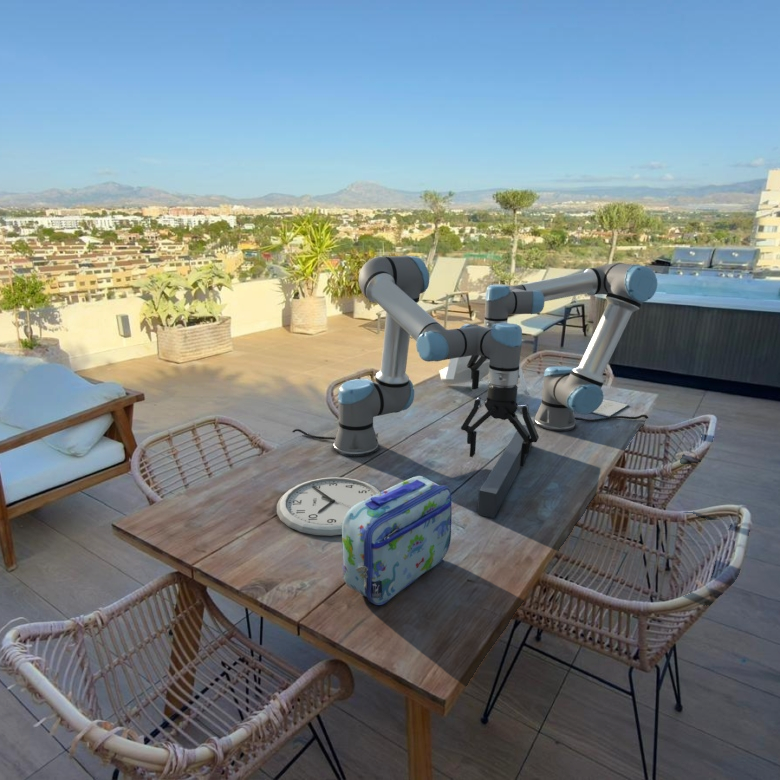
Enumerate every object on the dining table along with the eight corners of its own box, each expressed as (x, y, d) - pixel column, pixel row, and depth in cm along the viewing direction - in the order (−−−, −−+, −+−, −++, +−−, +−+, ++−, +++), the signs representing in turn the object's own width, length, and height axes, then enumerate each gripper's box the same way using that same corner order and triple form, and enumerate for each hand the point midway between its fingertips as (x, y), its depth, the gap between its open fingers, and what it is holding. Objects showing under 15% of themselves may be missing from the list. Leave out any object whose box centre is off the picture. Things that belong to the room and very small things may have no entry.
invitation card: (608, 416, 214) (573, 407, 224) (608, 416, 214) (573, 408, 224) (628, 404, 229) (594, 396, 238) (628, 405, 229) (594, 397, 238)
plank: (518, 443, 186) (520, 424, 184) (531, 445, 185) (533, 426, 182) (477, 514, 140) (479, 490, 137) (494, 518, 138) (496, 494, 136)
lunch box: (371, 618, 102) (371, 524, 95) (336, 591, 109) (334, 502, 103) (455, 562, 119) (460, 479, 113) (420, 542, 126) (423, 463, 120)
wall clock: (392, 527, 129) (268, 531, 127) (391, 533, 130) (269, 537, 127) (383, 473, 158) (282, 475, 155) (383, 478, 158) (282, 480, 156)
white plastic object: (461, 429, 252) (437, 405, 227) (444, 352, 274) (420, 323, 250) (535, 404, 240) (518, 377, 215) (510, 326, 262) (492, 293, 237)
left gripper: (452, 381, 136) (448, 456, 142) (550, 394, 126) (541, 474, 133) (460, 374, 143) (456, 446, 149) (554, 386, 133) (546, 463, 139)
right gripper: (458, 328, 180) (455, 387, 186) (520, 339, 163) (515, 404, 169) (472, 325, 185) (469, 383, 191) (533, 336, 168) (528, 399, 174)
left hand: (496, 459), depth 141 cm, fingers open, 13 cm apart
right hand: (490, 393), depth 180 cm, fingers open, 13 cm apart
